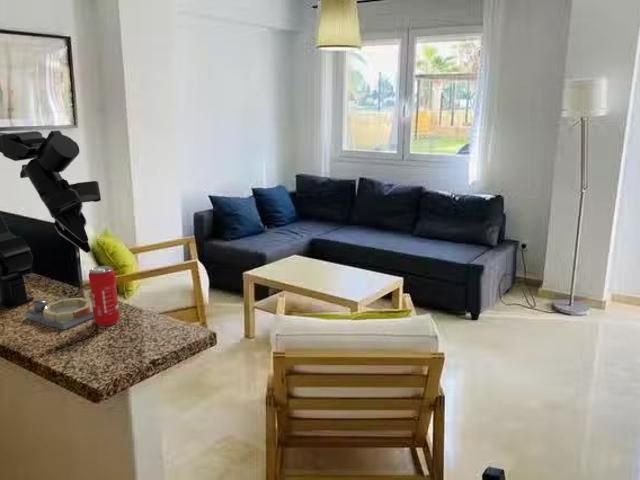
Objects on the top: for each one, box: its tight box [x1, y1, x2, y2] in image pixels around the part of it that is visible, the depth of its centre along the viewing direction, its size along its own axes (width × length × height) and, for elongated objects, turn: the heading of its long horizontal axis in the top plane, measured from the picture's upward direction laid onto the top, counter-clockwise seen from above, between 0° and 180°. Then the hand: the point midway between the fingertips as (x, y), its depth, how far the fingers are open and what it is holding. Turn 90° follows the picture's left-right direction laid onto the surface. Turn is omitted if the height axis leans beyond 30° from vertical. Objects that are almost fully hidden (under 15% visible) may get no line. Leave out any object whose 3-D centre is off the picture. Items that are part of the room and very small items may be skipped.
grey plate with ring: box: [25, 295, 94, 331], centre depth 127 cm, size 13×10×4 cm
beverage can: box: [88, 265, 120, 327], centre depth 122 cm, size 5×5×12 cm
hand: (87, 246), depth 119 cm, fingers open, 9 cm apart
